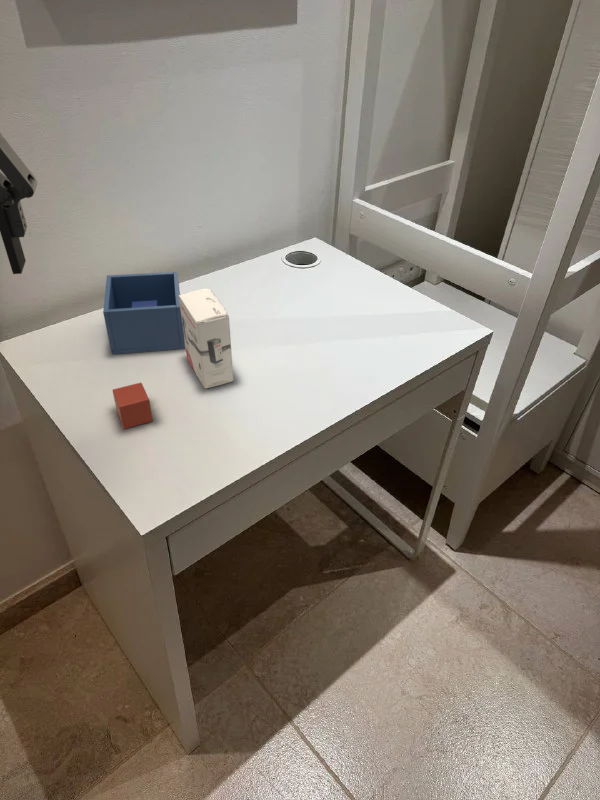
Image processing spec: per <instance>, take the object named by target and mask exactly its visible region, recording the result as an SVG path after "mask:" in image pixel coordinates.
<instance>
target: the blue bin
mask: <svg viewBox="0 0 600 800" xmlns="http://www.w3.org/2000/svg"><path fill="white" fill-rule="evenodd" d="M105 279H106V281H105V290H104V301H103V311H102V313H103V318H104V324H105V327H106V328H105V329H106V332H107V339H108V343H109V347H110V352H111V355H121V354H133V353H134V354H135V353H147V352H161V351H171V350H174V351H175V350H186V346H185V339H184V332H183V324H182V317H181V310H180V303H179V295H181V291H180V280H179V272H178V271H165V272H163V271H162V272H149V273H128V274H127V273H126V274H109V275H106V278H105ZM152 300H157V304H158V306H153V307H138V308H132V302H137V301H152Z"/></svg>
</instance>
